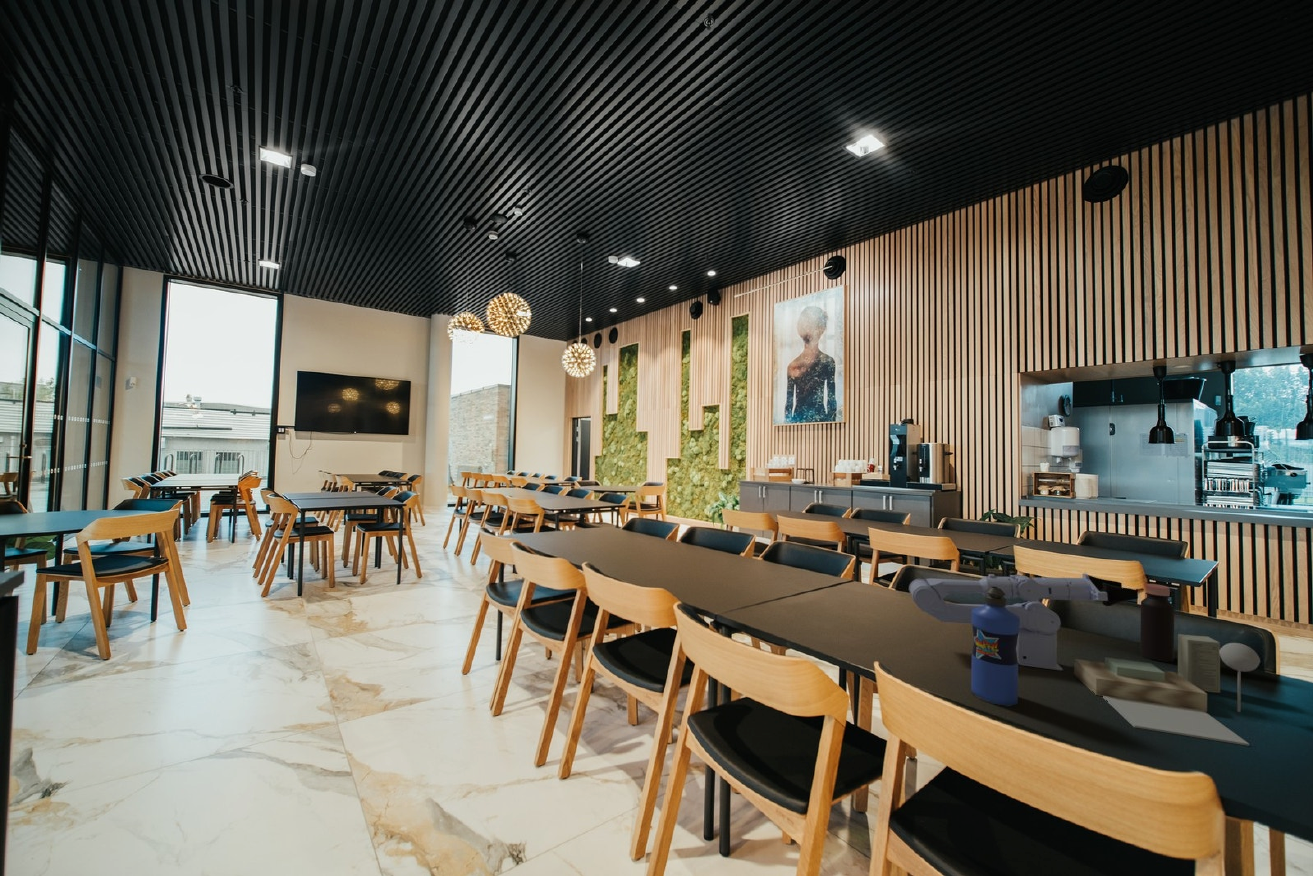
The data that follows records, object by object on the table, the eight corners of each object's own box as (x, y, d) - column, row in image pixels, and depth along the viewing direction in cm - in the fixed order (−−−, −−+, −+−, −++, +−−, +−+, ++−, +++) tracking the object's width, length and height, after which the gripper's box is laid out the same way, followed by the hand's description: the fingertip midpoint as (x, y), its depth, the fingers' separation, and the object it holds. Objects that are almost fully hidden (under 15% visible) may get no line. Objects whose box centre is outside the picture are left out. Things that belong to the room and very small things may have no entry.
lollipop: (1210, 705, 119) (1211, 638, 119) (1234, 704, 119) (1234, 638, 119) (1243, 719, 112) (1244, 649, 113) (1268, 718, 113) (1268, 649, 113)
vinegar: (1147, 660, 144) (1147, 587, 144) (1135, 651, 150) (1136, 581, 151) (1179, 664, 142) (1179, 590, 142) (1166, 655, 148) (1166, 584, 148)
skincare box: (1208, 686, 129) (1209, 636, 129) (1221, 694, 124) (1221, 642, 125) (1176, 682, 131) (1176, 633, 131) (1187, 689, 126) (1188, 639, 127)
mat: (1134, 727, 108) (1134, 725, 108) (1102, 697, 121) (1102, 695, 121) (1249, 746, 102) (1249, 744, 102) (1202, 712, 115) (1202, 710, 115)
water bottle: (1003, 710, 114) (1005, 595, 114) (961, 691, 122) (963, 584, 123) (1027, 701, 118) (1028, 590, 119) (985, 684, 127) (986, 580, 127)
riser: (1096, 695, 122) (1096, 678, 122) (1074, 674, 133) (1074, 659, 133) (1207, 712, 115) (1207, 693, 115) (1174, 688, 127) (1174, 672, 127)
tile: (1116, 675, 124) (1117, 666, 124) (1104, 665, 130) (1105, 657, 130) (1165, 681, 121) (1165, 673, 121) (1150, 671, 127) (1150, 663, 127)
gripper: (1075, 580, 132) (1142, 581, 127) (1053, 567, 146) (1113, 568, 141) (1078, 608, 132) (1145, 610, 127) (1055, 593, 145) (1115, 595, 141)
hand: (1128, 590), depth 134 cm, fingers open, 7 cm apart
